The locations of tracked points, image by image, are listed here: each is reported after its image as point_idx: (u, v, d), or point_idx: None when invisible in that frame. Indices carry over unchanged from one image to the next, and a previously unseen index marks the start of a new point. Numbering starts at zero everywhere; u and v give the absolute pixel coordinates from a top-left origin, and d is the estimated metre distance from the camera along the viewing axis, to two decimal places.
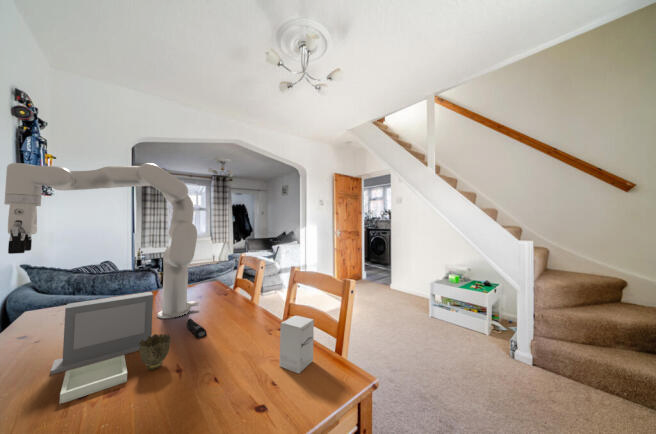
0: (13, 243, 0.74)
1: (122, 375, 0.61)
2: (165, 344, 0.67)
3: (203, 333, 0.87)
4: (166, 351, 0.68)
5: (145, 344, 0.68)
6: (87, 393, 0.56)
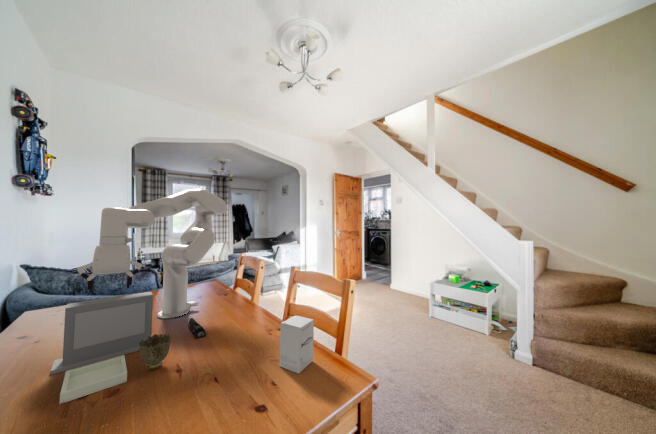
0: None
1: (122, 375, 0.61)
2: (165, 344, 0.67)
3: (202, 334, 0.86)
4: (166, 351, 0.68)
5: (145, 344, 0.68)
6: (87, 393, 0.56)
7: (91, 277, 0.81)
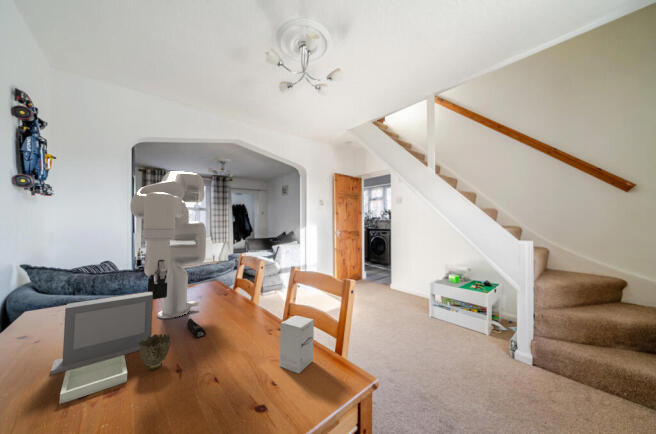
0: None
1: (122, 375, 0.61)
2: (165, 344, 0.67)
3: (202, 334, 0.86)
4: (166, 351, 0.68)
5: (145, 344, 0.68)
6: (87, 393, 0.56)
7: (166, 278, 0.66)
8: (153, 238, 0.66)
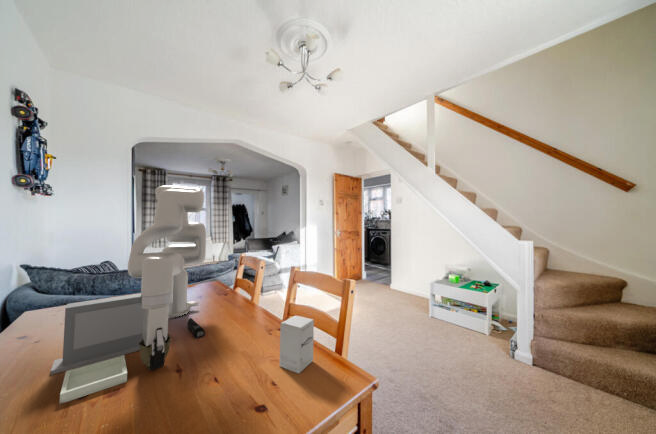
0: None
1: (122, 375, 0.61)
2: (165, 344, 0.67)
3: (201, 333, 0.86)
4: (166, 351, 0.68)
5: None
6: (87, 393, 0.56)
7: (163, 347, 0.66)
8: (151, 306, 0.65)
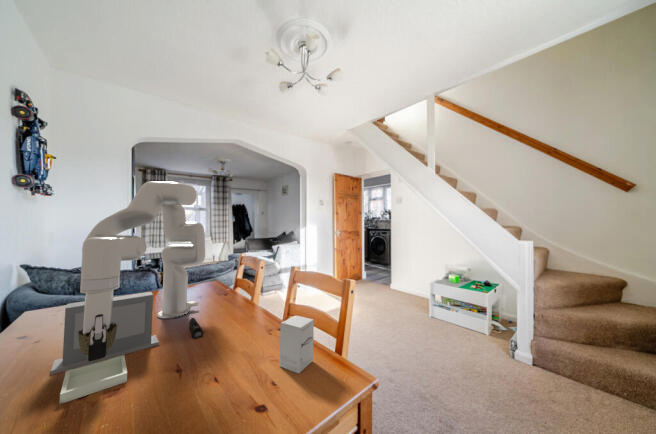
0: None
1: (122, 375, 0.61)
2: (108, 333, 0.61)
3: (199, 334, 0.86)
4: (110, 341, 0.62)
5: (87, 333, 0.62)
6: (87, 393, 0.56)
7: None
8: (90, 290, 0.59)
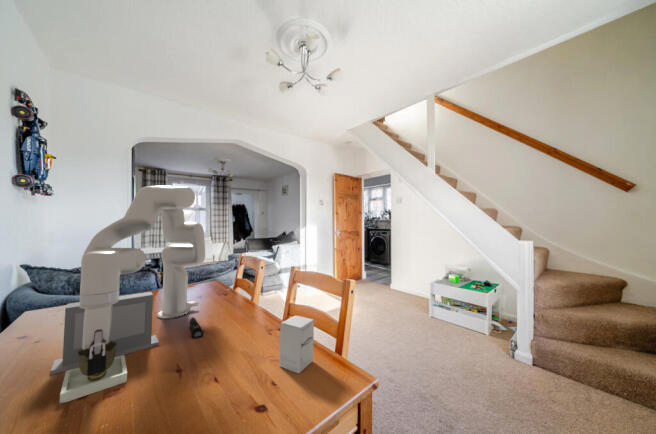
0: None
1: (122, 375, 0.61)
2: (108, 353, 0.61)
3: (199, 334, 0.86)
4: (110, 360, 0.62)
5: (87, 353, 0.62)
6: (87, 393, 0.56)
7: (104, 350, 0.59)
8: (90, 305, 0.59)
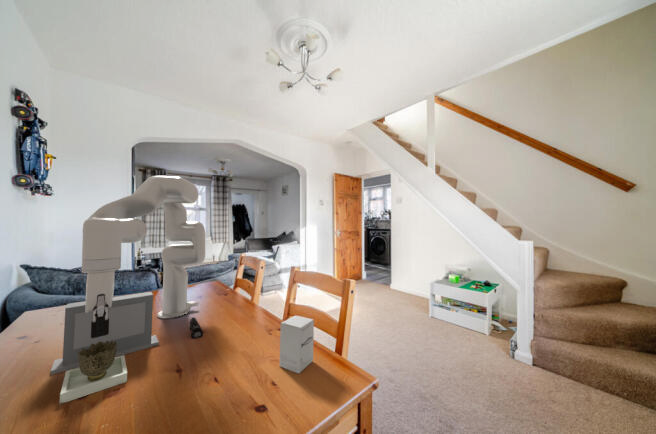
0: None
1: (122, 375, 0.61)
2: (108, 353, 0.61)
3: (199, 334, 0.86)
4: (110, 360, 0.62)
5: (87, 353, 0.62)
6: (87, 393, 0.56)
7: (107, 314, 0.60)
8: (92, 270, 0.59)
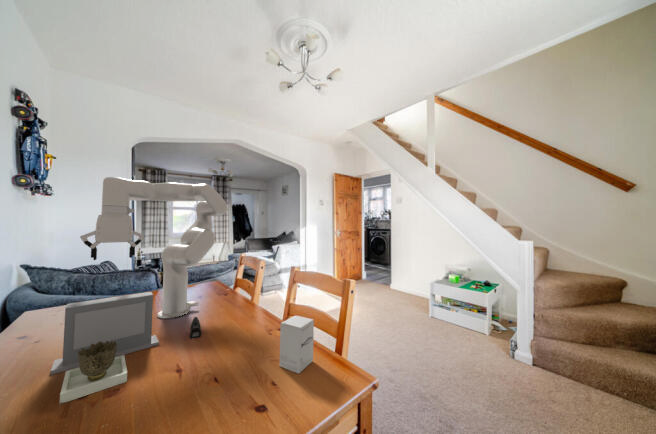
0: None
1: (122, 375, 0.61)
2: (108, 353, 0.61)
3: (197, 334, 0.86)
4: (110, 360, 0.62)
5: (87, 353, 0.62)
6: (87, 393, 0.56)
7: (94, 245, 0.82)
8: None
